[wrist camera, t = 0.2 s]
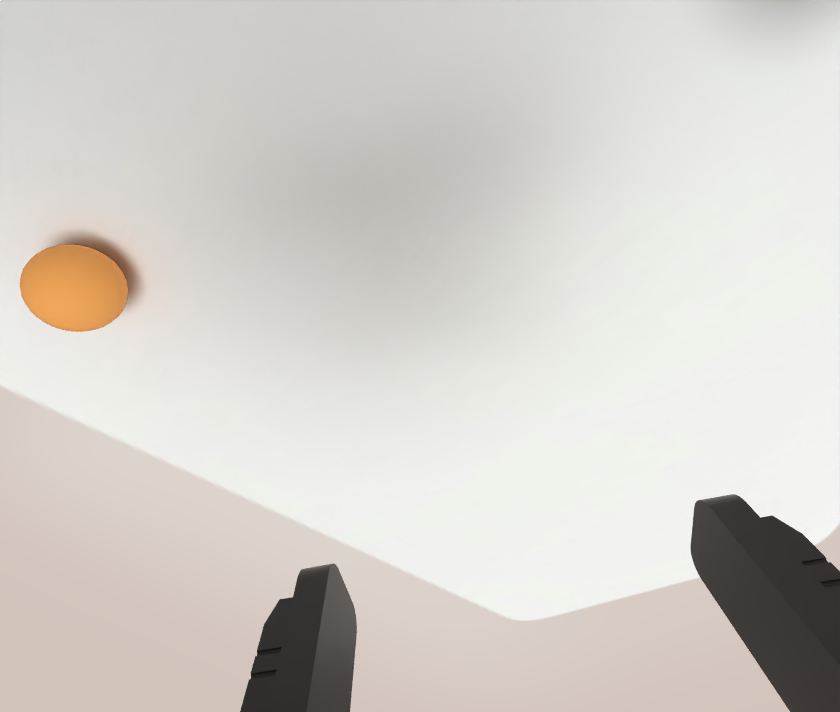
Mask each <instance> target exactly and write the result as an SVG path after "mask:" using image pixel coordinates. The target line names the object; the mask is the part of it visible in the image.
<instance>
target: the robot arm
mask: <svg viewBox="0 0 840 712" xmlns="http://www.w3.org/2000/svg"><path fill="white" fill-rule="evenodd" d="M691 555H692V559H693V562H694V565H695V567H696V570H697V572H698V574H699V576H700V577H701V579H702V581H703V582H704V583H705V585H706V587H707V588H708V589H709V591H710V592H711V594H712V596H713V597H714V598H715V600H716V601H717V603H718V604H719V606H720V607H721V609H722V610H723V612H724V613H725V615H726V616H727V618H728V619H729V621H730V622H731V624H732V625H733V627H734V628H735V630H736V631H737V633H738V634H739V636H740V637H741V639H742V640H743V642H744V643H745V645H746V646H747V648H748V649H749V651H750V652H751V654H752V655H753V657H754V658H755V660H756V661H757V663H758V664H759V666H760V667H761V669H762V670H763V672H764V673H765V675H766V676H767V677H768V679H769V681H770V682H771V684H772V685H773V686H774V688H775V690H776V691H777V693H778V694H779V695H780V697H781V699H782V700H783V702H784V703H785V705H786V706H787V707H788V709H789V710H790V712H840V571H839V570H838V569H837V568H836V567H835V566H834V565H833V564H832V563H828V562H827V560H826V558H825V556H824V555H823V554H822V553H821V552H820V551H819V550H818V549H817V548H816V547H815V546H814V545H813V544H812V543H811V542H810V541H809V540H808V539H807V538H806V537H805V536H804V535H803V534H802V533H800V532H798V531H797V530H795V529H793V528H792V527H790V526H788V525H787V524H785V523H783V522H782V521H780V520H779V519H777V518H775V517H774V516H767V517H762V518H760V517H759V516H758V515H757V514H756V513H755V511H754V510H753V509H752V508H751V507H750V506H749V505H748V504H747V503H746V502H745V501H744V500H743V499H742V498H741V497H739V496H737V495H727V496H721V497H715V498H710V499H704V500H699V501H697V502H696V503H695V507H694V517H693V528H692V538H691ZM356 629H357V625H356V614H355V609H354V605H353V603H352V600H351V598H350V595H349V593H348V591H347V588H346V586H345V584H344V581H343V579H342V577H341V574H340V572H339V569H338V567H337V566H336V565H335V564H329V565H323V566H317V567H312V568H306V569H302V570H301V571H300V573H299V575H298V578H297V583H296V587H295V592H294V596H293V597H292V598H286V599H280V600H279V601H278V603H277V605H276V607H275V608H274V610H273V611H272V613H271V614H270V616H269V618H268V619H267V621H266V623H265V624H264V627H263V631H262V635H261V638H260V642H259V645H258V649H257V656H256V657H255V660H254V664H253V667H252V671H251V679H250V680H249V682H248V685H247V689H246V693H245V696H244V700H243V704H242V707H241V711H240V712H350V704H351V691H352V680H353V669H354V658H355V646H356V633H357V630H356Z"/></svg>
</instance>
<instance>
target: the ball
mask: <svg viewBox="0 0 840 712" xmlns="http://www.w3.org/2000/svg"><path fill="white" fill-rule="evenodd" d="M20 289H21V294H22V298H23V300H24V302H25V303H26V305H27V307H28V308H29V309H30V311H31V312H32V313H33V314H34V315H35V316H36V317H38V318H39V319H40V320H42V321H43V322H45V323H47V324H49V325H51V326H53V327H56V328H59V329H62V330H67V331H76V332H82V331H91V330H95V329H98V328H101V327H104V326H105V325H107V324H109V323H111V322H112V321H113V320H115V319H116V318H117V317H118V316H119V315H120V313H121V312H122V311H123V309H124V307H125V305H126V302H127V297H128V286H127V282H126V279H125V276H124V274H123V273H122V271H121V269H120V268H119V267H118V265H117V264H116V263H115V262H114V261H113V260H111V259H110V258H109V257H108V256H106V255H105V254H103V253H101V252H99V251H97V250H95V249H92V248H89V247H85V246H80V245H58V246H54V247H50V248H47V249H45V250H43V251H41V252H39V253H38V254H36V255H35V256H33V257H32V258H31V259H30V260H29V262H28V263H27V264H26V266H25V267H24V269H23V272H22V274H21V279H20Z"/></svg>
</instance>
